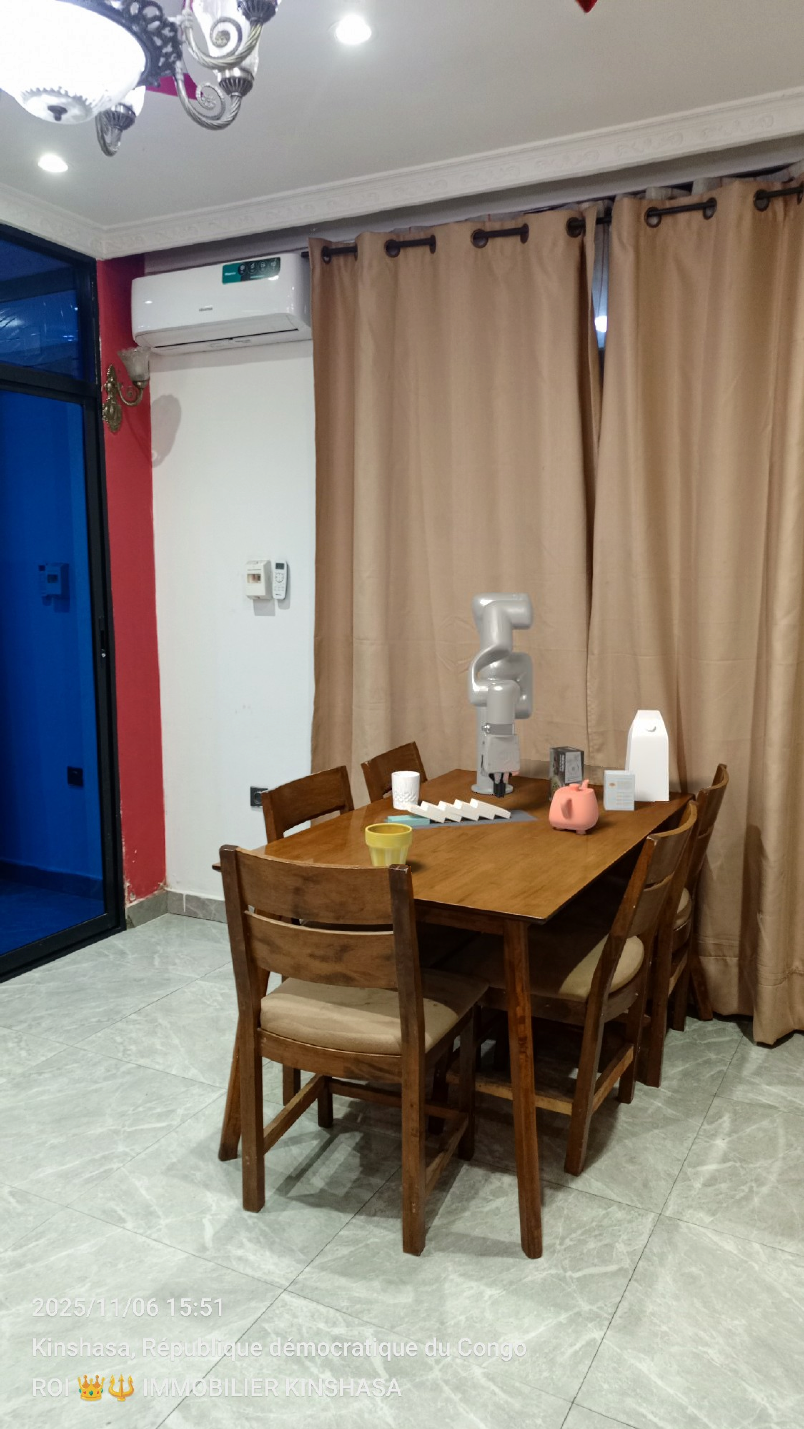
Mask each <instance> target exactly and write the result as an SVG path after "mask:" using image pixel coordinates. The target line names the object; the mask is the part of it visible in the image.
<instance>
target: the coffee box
mask: <svg viewBox="0 0 804 1429" xmlns="http://www.w3.org/2000/svg"><path fill="white" fill-rule="evenodd" d="M584 765H585V750H582V749H578V748H576V747H572V746H555V747H549V765H548V766H549V773H548V774H549V777H548V778H549V780H548V782H549V783H548V785H549V786H548V787H549V788H548V801H550V802H552V800H553V797H554V794H555V792H556V791H557V790H558V789H560V788H562V787H565V786H569V784H572V783H575V784H580V787H581V786H582V783H583V781H584V771H585V770H584V769H585V766H584Z"/></svg>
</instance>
